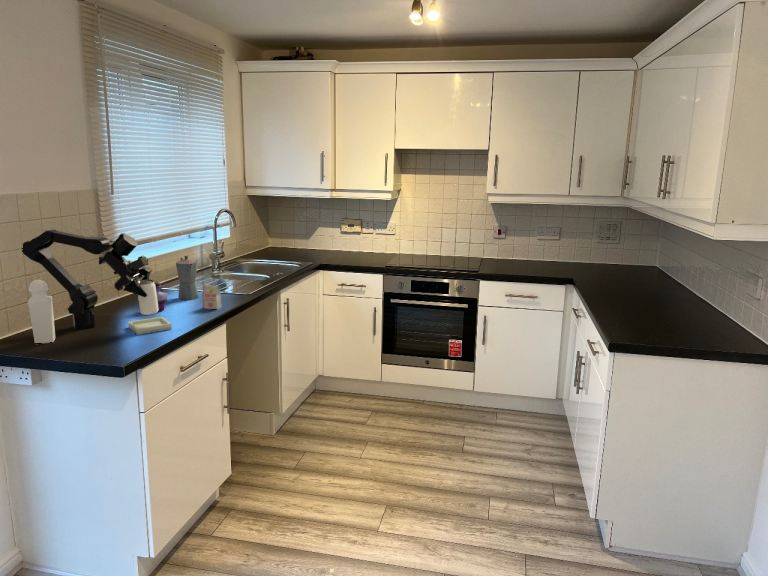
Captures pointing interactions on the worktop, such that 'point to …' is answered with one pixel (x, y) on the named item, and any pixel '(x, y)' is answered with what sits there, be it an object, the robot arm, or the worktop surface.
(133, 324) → the tray
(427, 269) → the worktop surface
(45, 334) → the white bottle
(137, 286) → the robot arm
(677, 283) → the worktop surface
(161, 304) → the potion bottle
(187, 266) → the moka pot
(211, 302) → the cream paper food packet
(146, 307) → the can
